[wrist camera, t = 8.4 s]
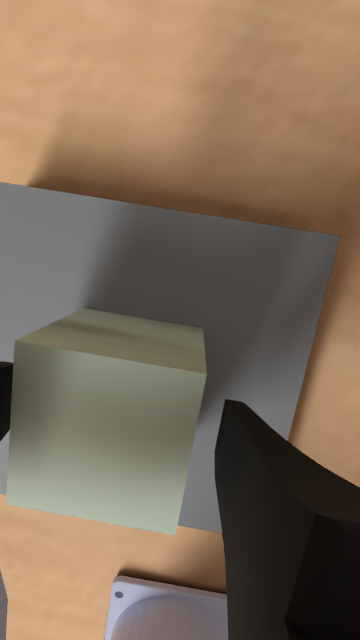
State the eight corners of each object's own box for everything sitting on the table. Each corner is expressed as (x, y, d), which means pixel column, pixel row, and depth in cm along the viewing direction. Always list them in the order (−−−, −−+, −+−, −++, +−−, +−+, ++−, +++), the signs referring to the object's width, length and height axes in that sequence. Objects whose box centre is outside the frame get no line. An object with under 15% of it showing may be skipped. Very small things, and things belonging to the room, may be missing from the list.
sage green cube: (182, 437, 14) (175, 535, 9) (72, 417, 14) (5, 504, 9) (203, 328, 13) (206, 373, 8) (83, 308, 13) (14, 340, 8)
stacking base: (251, 492, 18) (262, 540, 15) (8, 450, 18) (-28, 488, 15) (311, 239, 15) (340, 236, 12) (20, 193, 15) (-23, 178, 12)
